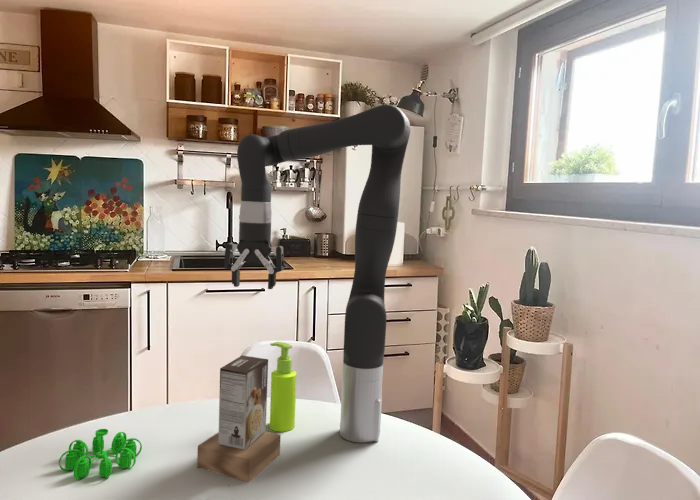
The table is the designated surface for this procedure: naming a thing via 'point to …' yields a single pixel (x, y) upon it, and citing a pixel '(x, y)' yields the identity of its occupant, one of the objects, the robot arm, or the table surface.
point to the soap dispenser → (283, 392)
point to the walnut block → (239, 456)
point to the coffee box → (242, 401)
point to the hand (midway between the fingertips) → (253, 287)
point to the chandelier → (100, 454)
